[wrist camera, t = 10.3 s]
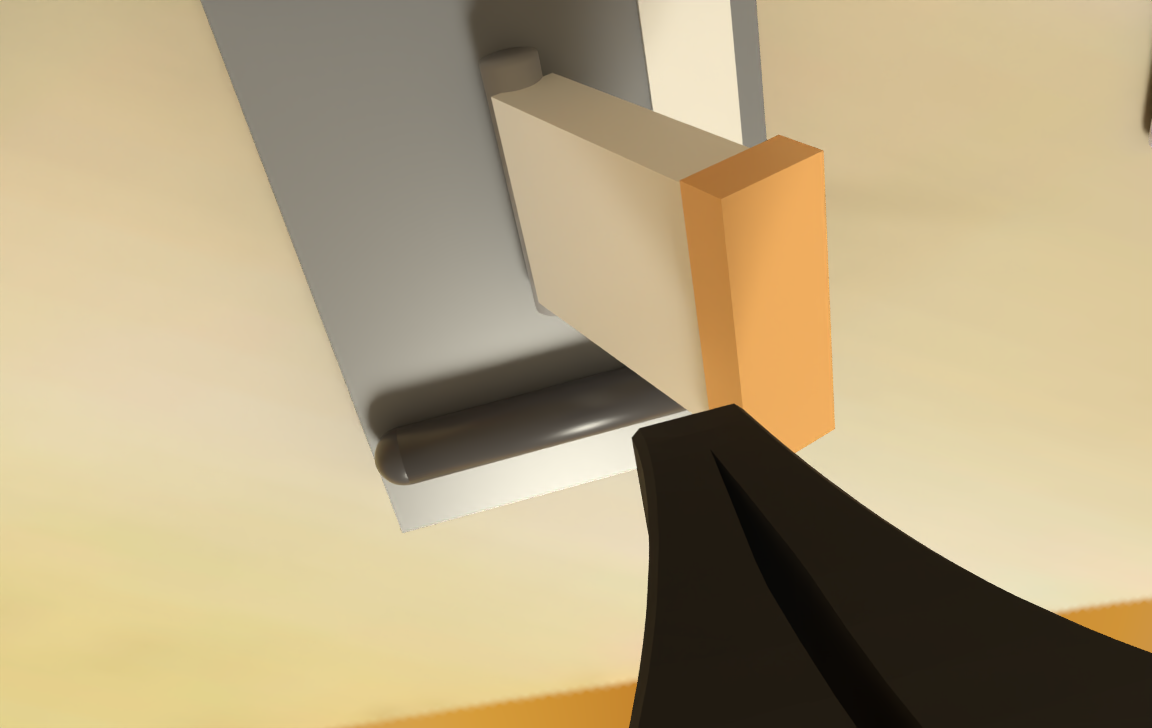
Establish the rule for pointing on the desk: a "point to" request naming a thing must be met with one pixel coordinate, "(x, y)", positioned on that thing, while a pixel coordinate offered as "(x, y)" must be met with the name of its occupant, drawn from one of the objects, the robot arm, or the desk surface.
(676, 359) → the lever
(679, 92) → the strip
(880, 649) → the robot arm
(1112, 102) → the desk surface
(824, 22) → the desk surface
